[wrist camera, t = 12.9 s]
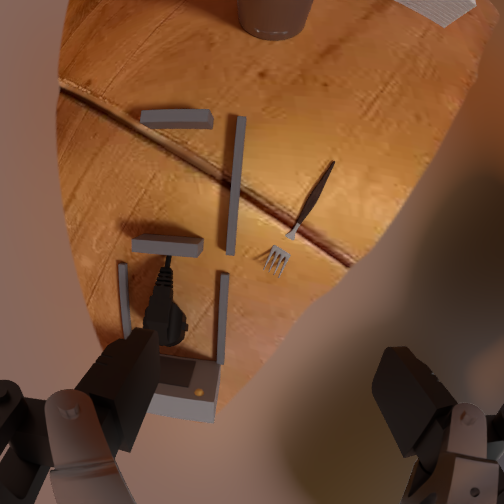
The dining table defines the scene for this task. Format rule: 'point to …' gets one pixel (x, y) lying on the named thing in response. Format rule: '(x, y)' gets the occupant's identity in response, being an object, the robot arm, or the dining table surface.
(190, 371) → the socket block
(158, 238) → the plug holster
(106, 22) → the dining table surface
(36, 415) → the robot arm
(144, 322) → the power plug
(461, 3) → the stack of papers
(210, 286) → the dining table surface
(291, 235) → the fork
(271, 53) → the dining table surface
